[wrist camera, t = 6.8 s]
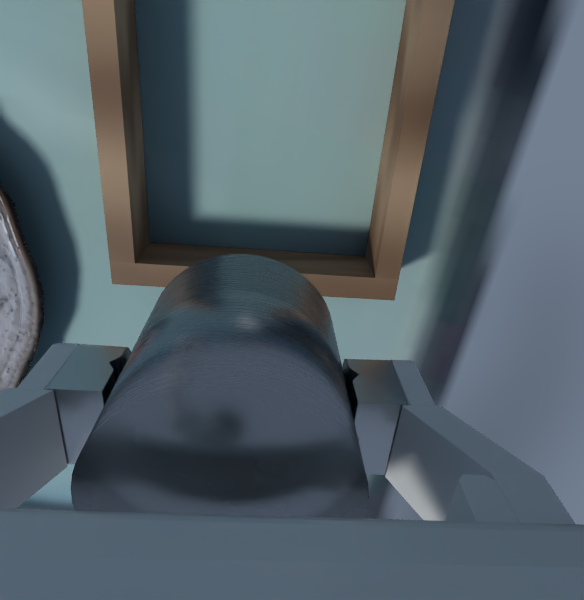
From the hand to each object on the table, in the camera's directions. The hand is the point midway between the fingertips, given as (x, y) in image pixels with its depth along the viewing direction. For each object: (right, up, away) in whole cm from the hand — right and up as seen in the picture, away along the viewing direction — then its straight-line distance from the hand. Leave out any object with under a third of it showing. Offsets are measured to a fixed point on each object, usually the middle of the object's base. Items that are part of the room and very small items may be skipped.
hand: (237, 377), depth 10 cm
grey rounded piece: (0, +1, +1) cm, 2 cm away
